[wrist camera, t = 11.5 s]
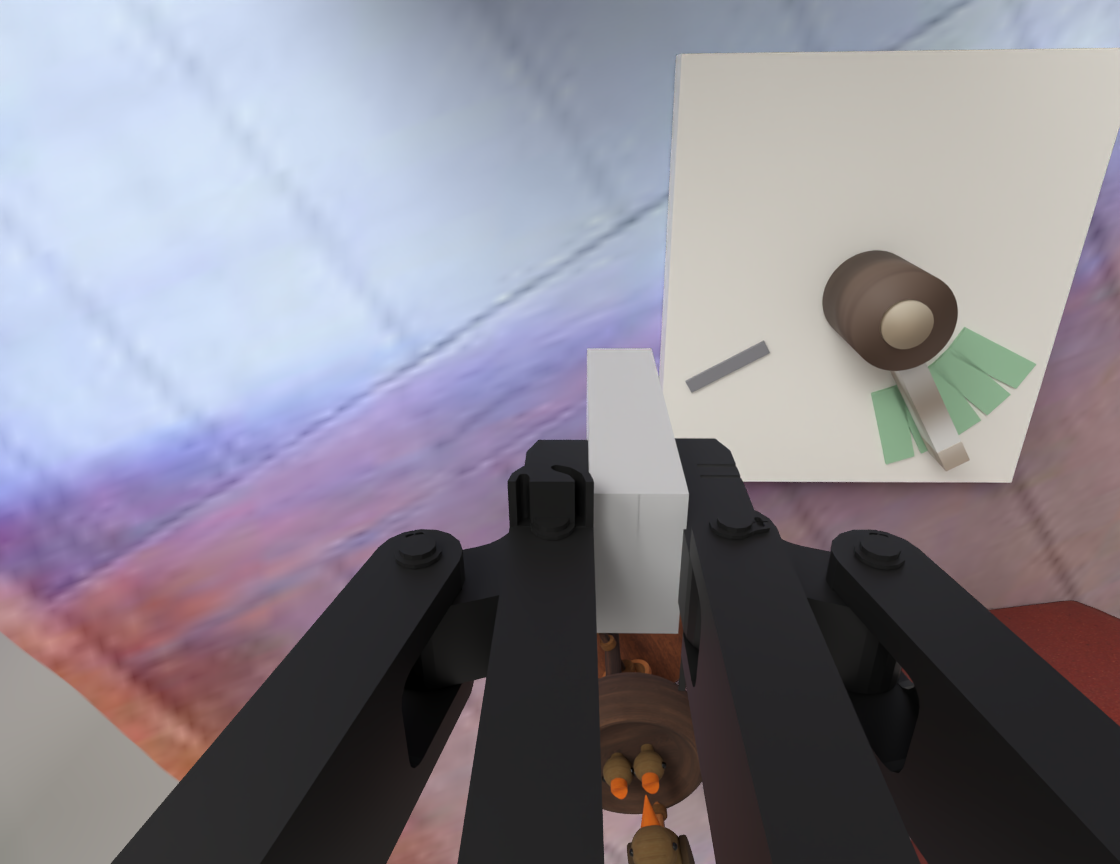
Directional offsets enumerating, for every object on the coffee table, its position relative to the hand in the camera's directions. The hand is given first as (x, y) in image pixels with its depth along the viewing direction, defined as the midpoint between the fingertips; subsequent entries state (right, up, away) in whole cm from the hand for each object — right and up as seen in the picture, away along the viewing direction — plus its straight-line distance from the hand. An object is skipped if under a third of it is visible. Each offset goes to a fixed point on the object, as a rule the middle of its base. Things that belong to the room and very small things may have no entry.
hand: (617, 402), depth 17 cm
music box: (+3, -13, +36) cm, 39 cm away
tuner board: (+16, +8, +25) cm, 31 cm away
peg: (+18, +4, +24) cm, 30 cm away
